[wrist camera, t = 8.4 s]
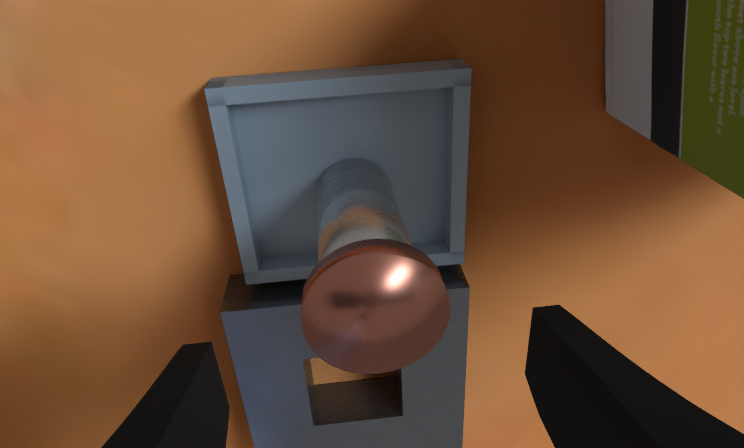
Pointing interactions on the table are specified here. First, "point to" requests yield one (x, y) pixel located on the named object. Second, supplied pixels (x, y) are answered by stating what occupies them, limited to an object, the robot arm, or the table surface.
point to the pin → (369, 277)
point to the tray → (341, 154)
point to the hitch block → (344, 399)
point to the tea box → (681, 79)
